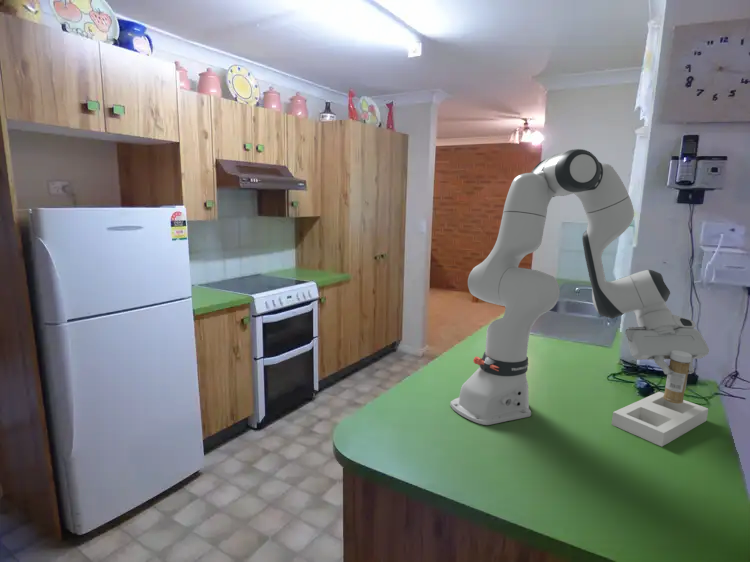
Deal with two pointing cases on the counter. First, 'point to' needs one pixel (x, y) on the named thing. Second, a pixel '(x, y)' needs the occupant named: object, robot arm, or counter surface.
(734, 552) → the counter surface
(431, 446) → the counter surface
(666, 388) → the sprinkles bottle
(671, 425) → the bottle stand
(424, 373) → the counter surface
